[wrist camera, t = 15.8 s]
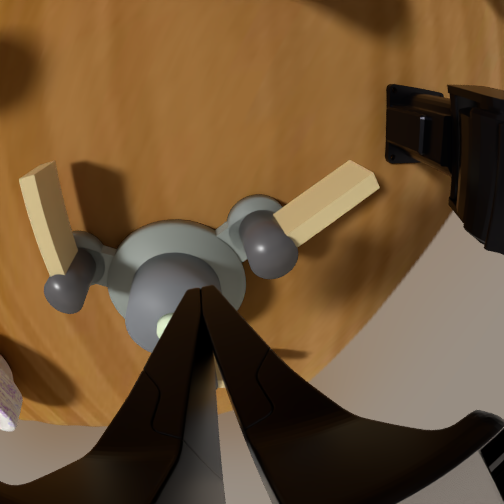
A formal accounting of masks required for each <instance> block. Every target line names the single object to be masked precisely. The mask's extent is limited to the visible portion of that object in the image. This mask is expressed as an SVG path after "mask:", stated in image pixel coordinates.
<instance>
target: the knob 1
mask: <svg viewBox="0 0 504 504" xmlns="http://www.w3.org/2000/svg"><path fill="white" fill-rule="evenodd" d="M19 182H20V186H21V190H22V194H23V198H24V202H25V205H26V209H27V212H28V216H29V219H30V222H31V226H32V229H33V232H34V235H35V238H36V241H37V243H38V246H39V249H40V252H41V254H42V257H43V260H44V262H45V265H46V267H47V270H48V272H49V274H50V277H49V278H48V280H47V282H46V284H45V286H44V294H45V297H46V299H47V301H48V302H49V303H50V305H51V306H52V307H54V308H55V309H56V310H58V311H60V312H63V313H67V314H73V313H76V312H78V311H80V310H81V308H82V307H83V304H84V301H85V298H86V295H87V293H88V290H89V287H90V285H91V282H92V279H93V277H94V274H95V272H96V263H95V261H94V259H93V257H92V256H91V254H90V253H88V252H87V251H86V250H84V249H82V248H79V247H77V246H76V243H75V239H74V236H73V233H72V229H71V226H70V222H69V219H68V215H67V211H66V208H65V204H64V200H63V195H62V191H61V187H60V182H59V178H58V173H57V168H56V162H55V161H52V162H49V163H45V164H42V165H40V166H38V167H36V168H35V169H33V170H32V171H30V172H29V173H27V174H26V175H24V176H23V177H21V178H20V179H19Z"/></svg>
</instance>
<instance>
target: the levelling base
mask: <svg viewBox="0 0 504 504" xmlns="http://www.w3.org/2000/svg"><path fill="white" fill-rule="evenodd" d="M281 208H283V207H282V206H281V205H280V204H279V202H278V201H276V200H275V199H274V198H272V197H270V196H267V195H262V194H256V195H250V196H247V197H245V198H243V199H241V200H240V201H238V202H237V203H236V204H235V205H234V206H233V207H232V209H231V210H230V212H229V215H228V218H227V221H226V222H225V223H224V224H222V225H221V226H220V227H219V228H217V229H216V230H214V229H212V228H210V227H208V226H205V225H203V224H200V223H197V222H193V221H188V220H179V219H178V220H162V221H157V222H153V223H150V224H147V225H145V226H142V227H140V228H139V229H137V230H135V231H134V232H132V233H131V234H130V235H129V236H127V237H126V238H125V239H124V240H123V241H122V243H121V244H120V245H119V247H118V248H117V249H114V248H111V247H107V246H104V245H103V244H102V243H101V241H100V240H99V239H98V238H96V237H95V236H94V235H92V234H90V233H88V232H84V231H73V232H72V233H73V236H74V239H75V243H76V246H77V247H79V248H82V249H84V250H86V251H87V252H88V253H90V254H91V256H92V257H93V259H94V261H95V263H96V272H95V274H94V277H93V279H92V282H91V285H94V284H99V285H102V286H106V287H108V291H109V295H110V298H111V300H112V302H113V304H114V306H115V308H116V309H117V310H118V312H119V313H120V314H121V315H122V316H123V317H124V318H125V324H126V328H127V331H128V333H129V335H130V336H131V338H132V339H133V340H134V341H135V342H136V343H137V344H138V345H139V346H141V347H142V348H143V349H145V350H147V351H149V352H151V353H152V352H153V350H154V348H155V346H156V344H157V342H158V340H159V339H160V337H161V335H162V333H163V331H164V330H165V328H166V326H167V324H168V322H169V321H170V319H171V317H172V315H173V313H174V312H175V310H176V308H177V306H178V304H179V303H180V301H181V299H182V297H183V296H184V294H185V292H186V291H187V290H188V289H192V288H198V287H199V288H200V289H201V287H203V286H209V285H214V286H216V288H217V289H218V290H219V291H220V292H221V293H222V295H223V296H224V297H225V298H226V299H227V300H228V301H229V303H230V304H231V305H232V306H233V307H234V308H235V309H236V310H238V309H239V307H240V306H241V303H242V301H243V299H244V295H245V290H246V277H245V273H244V269H243V266H242V262H244V261H245V260H246V259H247V256H246V253H245V250H244V247H243V244H242V241H241V239H240V236H239V227H240V224H241V222H242V220H243V219H244V218H245V217H246V216H247V215H248V214H250V213H252V212H254V211H257V210H267V211H270V212H272V213H276V212H277V211H278V210H280V209H281ZM213 353H214V352H213Z"/></svg>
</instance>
